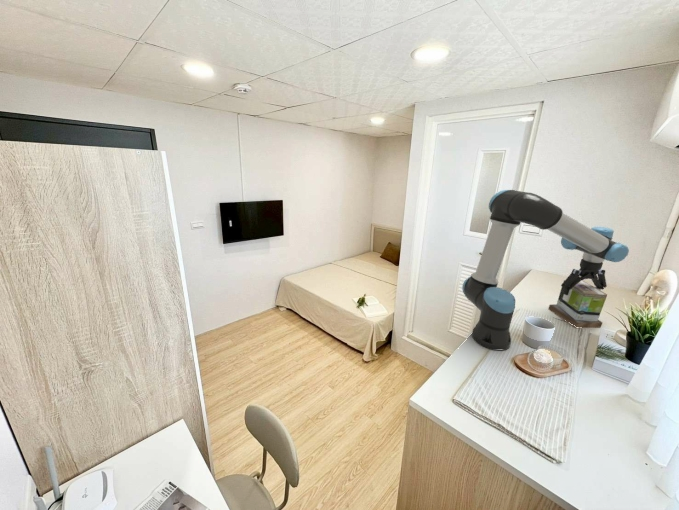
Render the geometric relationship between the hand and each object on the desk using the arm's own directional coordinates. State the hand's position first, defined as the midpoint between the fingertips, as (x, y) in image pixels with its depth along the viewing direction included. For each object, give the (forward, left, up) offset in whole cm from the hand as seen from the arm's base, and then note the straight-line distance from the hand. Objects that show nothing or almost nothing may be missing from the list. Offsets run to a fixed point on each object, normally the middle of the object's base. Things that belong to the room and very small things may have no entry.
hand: (578, 300), depth 129 cm
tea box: (0, 0, -7) cm, 7 cm away
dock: (0, 0, -10) cm, 10 cm away
